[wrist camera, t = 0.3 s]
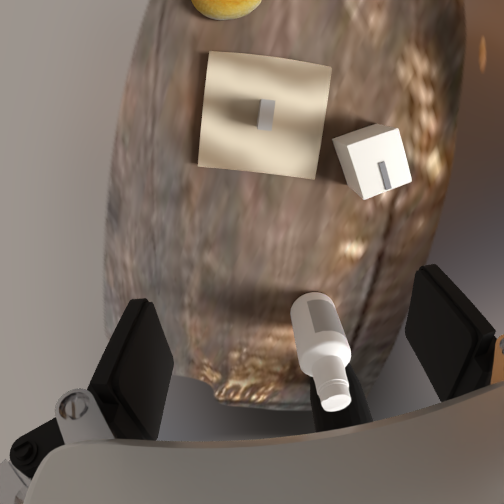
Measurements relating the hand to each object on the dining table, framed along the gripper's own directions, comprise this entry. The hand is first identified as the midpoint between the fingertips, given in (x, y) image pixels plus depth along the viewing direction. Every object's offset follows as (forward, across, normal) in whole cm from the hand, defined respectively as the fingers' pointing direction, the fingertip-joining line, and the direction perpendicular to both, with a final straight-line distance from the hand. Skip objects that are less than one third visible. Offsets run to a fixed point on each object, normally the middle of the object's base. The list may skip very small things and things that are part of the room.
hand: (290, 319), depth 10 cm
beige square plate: (+30, -1, -6) cm, 30 cm away
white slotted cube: (+30, -13, 0) cm, 32 cm away
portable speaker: (+30, -9, +38) cm, 49 cm away
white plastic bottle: (+30, -6, +23) cm, 38 cm away
